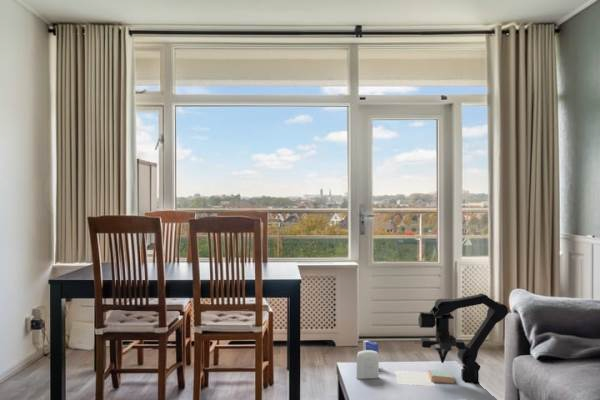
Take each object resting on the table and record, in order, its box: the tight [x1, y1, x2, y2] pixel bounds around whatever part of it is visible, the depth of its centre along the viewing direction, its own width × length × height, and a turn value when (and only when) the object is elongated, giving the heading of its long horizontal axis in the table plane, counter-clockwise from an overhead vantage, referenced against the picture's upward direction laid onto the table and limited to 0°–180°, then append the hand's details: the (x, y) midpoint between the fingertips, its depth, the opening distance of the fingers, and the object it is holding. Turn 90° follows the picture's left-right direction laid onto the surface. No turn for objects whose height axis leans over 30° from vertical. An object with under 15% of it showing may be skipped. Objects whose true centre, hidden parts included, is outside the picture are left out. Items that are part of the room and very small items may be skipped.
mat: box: [394, 370, 436, 387], centre depth 201 cm, size 16×16×1 cm
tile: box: [428, 369, 455, 384], centre depth 200 cm, size 3×7×10 cm
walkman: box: [362, 340, 379, 353], centre depth 217 cm, size 8×3×12 cm, turn 40°
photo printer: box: [356, 350, 380, 380], centre depth 203 cm, size 10×4×12 cm, turn 98°
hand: (442, 362), depth 200 cm, fingers closed
